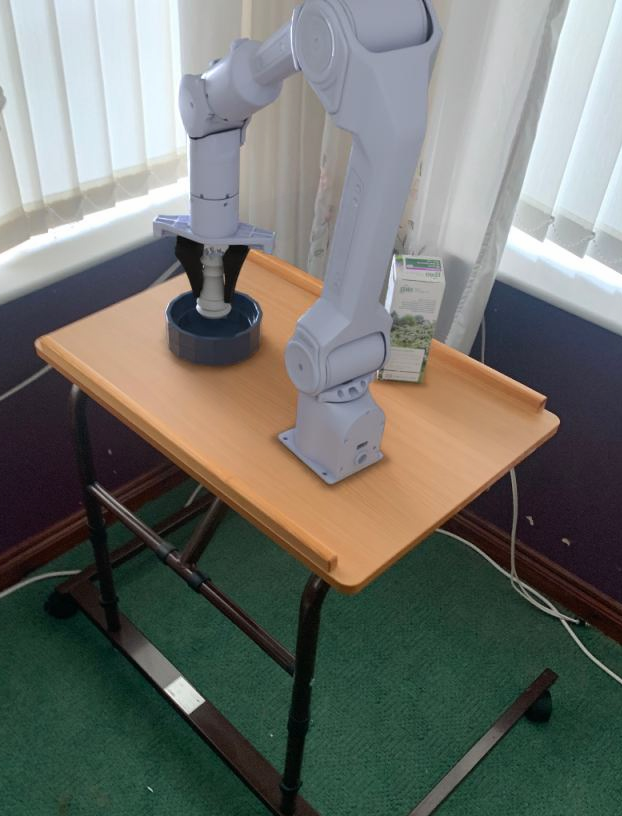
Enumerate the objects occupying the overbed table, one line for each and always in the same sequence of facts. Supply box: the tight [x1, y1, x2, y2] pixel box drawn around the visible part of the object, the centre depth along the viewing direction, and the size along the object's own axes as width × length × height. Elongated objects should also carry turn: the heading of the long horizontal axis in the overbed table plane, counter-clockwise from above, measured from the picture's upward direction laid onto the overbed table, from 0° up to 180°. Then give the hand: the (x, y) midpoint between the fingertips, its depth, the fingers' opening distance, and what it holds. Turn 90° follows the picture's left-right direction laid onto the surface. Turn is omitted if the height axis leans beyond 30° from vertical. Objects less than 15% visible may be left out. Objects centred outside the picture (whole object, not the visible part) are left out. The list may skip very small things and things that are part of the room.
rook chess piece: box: [196, 246, 231, 319], centre depth 98 cm, size 4×4×8 cm
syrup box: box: [376, 253, 447, 384], centre depth 95 cm, size 6×6×14 cm
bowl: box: [164, 289, 264, 367], centre depth 102 cm, size 12×12×4 cm
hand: (214, 296), depth 99 cm, fingers closed on rook chess piece, 3 cm apart
